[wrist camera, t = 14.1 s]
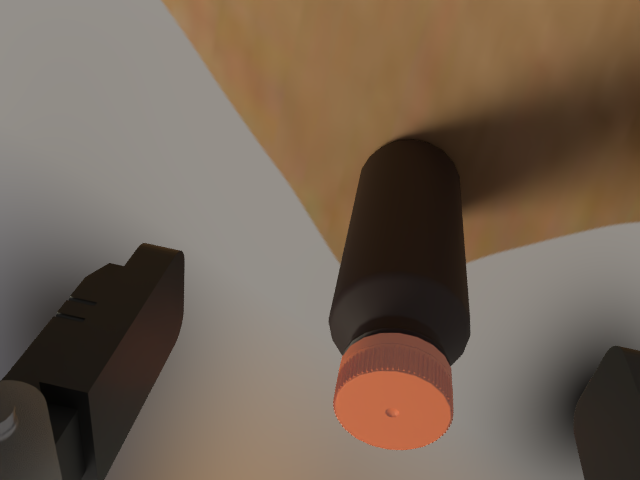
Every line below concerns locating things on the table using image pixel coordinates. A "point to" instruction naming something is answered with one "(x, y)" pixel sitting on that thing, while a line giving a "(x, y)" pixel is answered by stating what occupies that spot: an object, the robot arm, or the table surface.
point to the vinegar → (401, 299)
